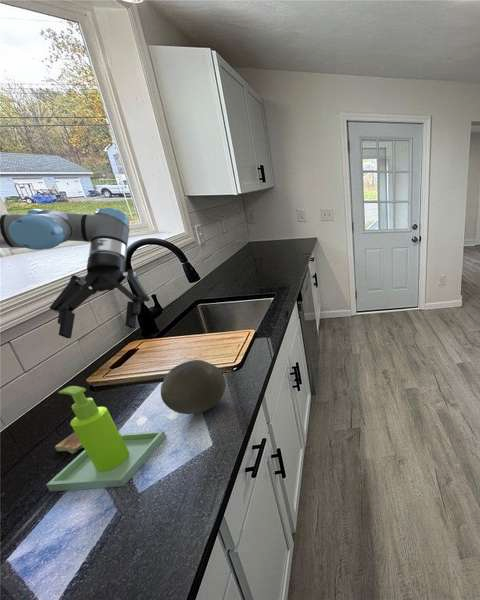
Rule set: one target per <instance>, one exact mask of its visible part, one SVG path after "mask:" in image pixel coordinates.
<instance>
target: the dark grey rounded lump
mask: <svg viewBox="0 0 480 600" xmlns="http://www.w3.org/2000/svg"><path fill="white" fill-rule="evenodd" d="M226 384H227V383H226V379H225V376H224V375H223V372H222V370H220V368H219V367H218V366H216V365H214V364H212V363H210V362H208V361H206V360H202V359H193V360H188V361H185V362H182V363H180V364H178V365H176V366H174V367H172V368H171V369H170V370H169V371H168V372H167V374H166V375H165V376H164V377H163V381H162V383H161V385H160V397H161V400H162V402H163V403H164V405H165V406H166V407H167V408H168V409H170V410H171V411H173V412H176V413H178V414H181V415H182V414H183V415H198V414H201V413H204V412H206V411H209V410H210V409H211V408H213V407H215V406H216V405H217V404H218V403H219V402H220V401H221V399H222V398H223V396H224V394H225V392H226V387H227V385H226Z"/></svg>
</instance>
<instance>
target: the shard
mask: <svg viewBox="0 0 480 600" xmlns="http://www.w3.org/2000/svg"><path fill="white" fill-rule="evenodd" d="M54 449H55V450H56V451H57V452H68V453H70V454H73V455H75V454H76V453H77V452H78V451H80V450H81V449H84V447H83V445H82V444H81V442H80V440H79V438H78V437H77V435H76V433H75V431H73V432H72V433H71V434H70V435H68V436H67V437H65V438H64V439H63V440H61V441H60V442H58V443H57V444H55V446H54Z"/></svg>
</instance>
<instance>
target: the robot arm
mask: <svg viewBox="0 0 480 600" xmlns="http://www.w3.org/2000/svg"><path fill="white" fill-rule="evenodd" d="M129 235H130V218H129V216H128V215H127V214H126V213H125V212H123V211H122V210H119V209H117V208H113V207H104V208H102V207H101V208H98V209H97V210H95V213H94V214H85V213H77V212H67V211H58V210H52V209H39V208H32V209H29V210H27V213H25V214H23V213H21V214H18V213H11V214H9V213H8V214H7V213H5V214H4V213H0V249H11V248H13V249H15V248H17V249H27V250H34V251H41V250H42V251H43V250H50V249H53V248H56V247H58V246H59V245H61V244H63V243H65V242H68V241H69V242H70V241H71V242H85V243H90V244H89V245H90V246H89V253H88V257H87V263H86V272H87V273H86V275H85V276H77V275H76V274H73V275H71V277H70V279H69V282H68V283H67V285H66V286H65V287H64V289H63V290H62V291H61V292H60V294H58V296H57V297H56V298H55V299H54V301H53V302H52V304H50V306H49V310H52V311H54V312H56V313H58V315H57V316H58V317H57V324H58V325H59V330H58V336H60V337H63V338H65V339H71V338H72V335H73V329H74V322H75V316H76V314H75V312H74V311H75V310H76V309H77V308H78V307H79V306H81V305H82V304H83V303H84V302H85V301H86V300H87V299H89V297H91V296H92V295H96V293H98V292H99V293H100V292H105V291H114V289H117V290H118V291H120V292H121V293H122V294H124V296H126V297H127V298H128V299H129V300H130V301H127V303H126V315H125V324H124V325H125V326H126V327H128V328H129V329H131V330H133V329H136V324H137V316H140V314H141V307H142V304H143V303H145V302H147V303H148V302H149V301H151V298H150V297H149V295H148V293H147V292H146V290H145V289H144V287H143V284H141V282H140V281H139V274H138V273H137V272H136V271H135V270H134V269H131V268H130V269H128V270H127V271H126V265H127V263H126V261H127V254H128V243H129V237H130V236H129ZM125 279H127V280H129V282H130V284H131V285H132V287H133V289H134V291H135V292H136V293H137V295H138V296H136V295H135V294H133V293H132V292H131V291H130V290H129V289H128V288H126V287H125V286H124V285H123V284H122V283H123V281H124V280H125Z"/></svg>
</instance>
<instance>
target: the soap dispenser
mask: <svg viewBox="0 0 480 600" xmlns="http://www.w3.org/2000/svg"><path fill="white" fill-rule="evenodd" d="M86 391H87V389H86V388H85V387H83V386H82V387H81V386H77V385H69V386H66V387H65V388H63V389H60V390H59V391H57V393H58V394H60V395H62V394H64V395H68V396H71V398H72V400H73V401H74V403H73V404H72V405H71V410H72V412H73V413H74V417H73V418H72V419H71V421H70V422H69V423H70V426H71V428H72V429H73V432H75V433H76V435H77V437H78V438H79V440H80V442H81V444H82V445H83V447H84V448H83V449H84V450H86V452H87V454H88V456H89V457H90V459H91V461H92V463H93V464H94V466H95V468H96V470H97V471H100V472H102V471H107V470H110V469H113V468H115V467H117V466H118V465H120V464H121V463H123V462H124V461H125V460H126V459H127V457H128V456H129V451H128V449H127V447H126V445H125V443H124V441H123V439H122V437H121V435H120V434H121V433H120V431H119V430H118V428H117V425H116V423H115V421H114V419H113V418H112V416H111V413H110V412H109V410H108V408H107V407H106V406H97V404H96V402H95V401H94V399H93V398H92V397H86V396H85V393H84V392H86Z"/></svg>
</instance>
